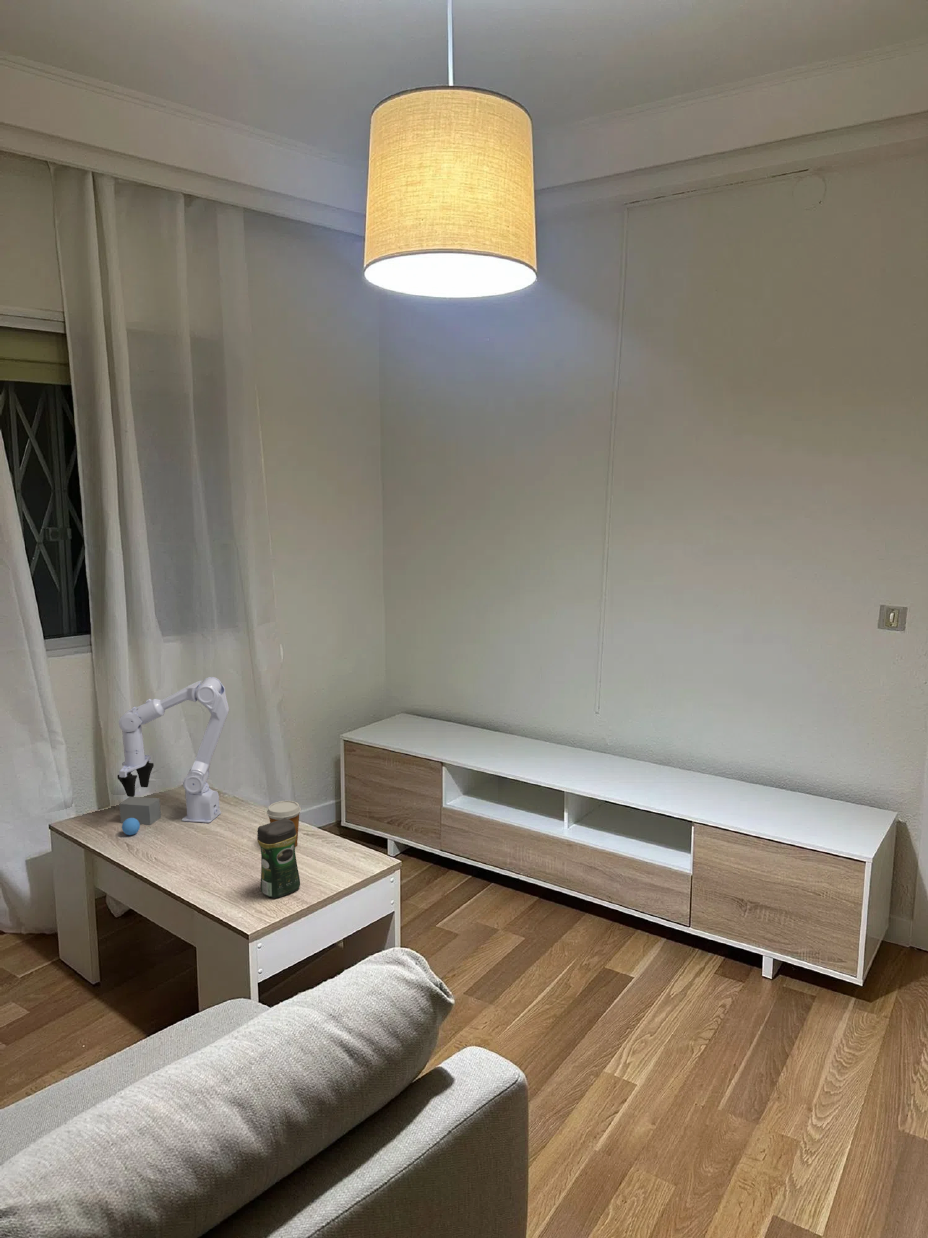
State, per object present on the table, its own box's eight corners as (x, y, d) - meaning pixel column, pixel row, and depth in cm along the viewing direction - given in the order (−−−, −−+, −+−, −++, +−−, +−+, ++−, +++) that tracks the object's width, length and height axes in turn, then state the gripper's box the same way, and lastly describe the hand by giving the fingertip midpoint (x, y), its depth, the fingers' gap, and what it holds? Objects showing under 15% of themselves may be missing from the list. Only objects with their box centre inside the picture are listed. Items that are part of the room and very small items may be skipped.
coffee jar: (288, 879, 236) (284, 812, 232) (304, 889, 230) (301, 821, 226) (255, 891, 229) (251, 823, 226) (271, 902, 223) (267, 832, 220)
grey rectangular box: (160, 817, 277) (159, 798, 276) (150, 825, 272) (148, 806, 270) (132, 815, 279) (130, 796, 278) (121, 823, 274) (119, 804, 273)
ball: (143, 831, 267) (142, 815, 266) (134, 838, 262) (133, 822, 261) (128, 830, 268) (127, 814, 267) (119, 837, 263) (117, 821, 263)
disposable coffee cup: (299, 853, 251) (296, 813, 248) (265, 853, 251) (262, 813, 249) (305, 838, 260) (303, 799, 258) (273, 839, 260) (270, 800, 258)
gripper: (134, 741, 279) (138, 782, 281) (108, 756, 265) (112, 799, 267) (155, 742, 278) (159, 783, 280) (129, 757, 264) (133, 801, 266)
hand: (137, 791), depth 274 cm, fingers open, 7 cm apart
